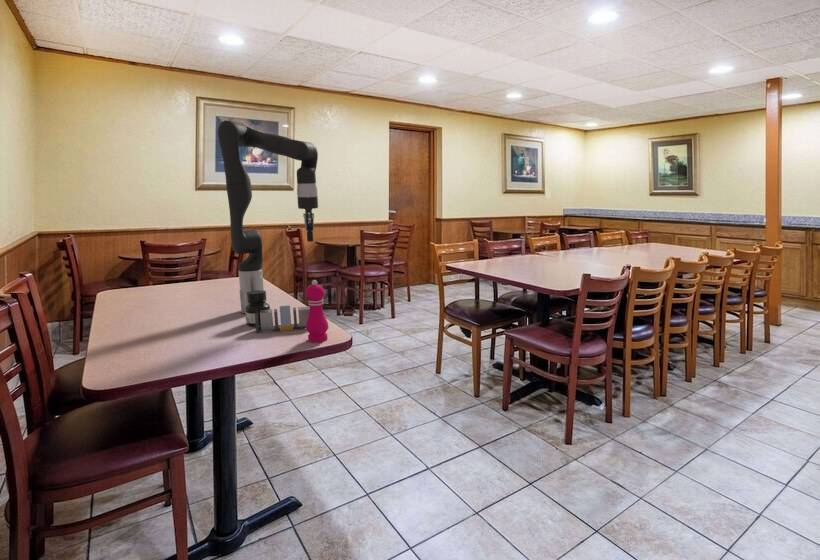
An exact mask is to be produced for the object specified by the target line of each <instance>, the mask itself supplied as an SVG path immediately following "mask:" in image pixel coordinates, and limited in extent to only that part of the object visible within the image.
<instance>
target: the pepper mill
mask: <svg viewBox="0 0 820 560" xmlns="http://www.w3.org/2000/svg"><path fill="white" fill-rule="evenodd" d="M325 293H326V292H325V289H324V287H323V286H322V285H320V284H318V281H317V280H316V279H313V280H312V281H311V284H310V285H309V286H307V288H306V289H305V297H306V298H307V299H308V300H307V305H308V306H309V308H310V313H309V317H308V320H307V323H306V329H305V330H306V332H308V335H307V339H308V342H309V341H310V343H314V342H318V343H323V341H324V342H326V341H327V340H328V333H327V331H328V330H329V323H328V320H327V317H326V316H325V314H324V310H323V305H324V299H323V298H324V296H325Z"/></svg>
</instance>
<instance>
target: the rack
mask: <svg viewBox="0 0 820 560" xmlns="http://www.w3.org/2000/svg"><path fill="white" fill-rule="evenodd" d="M292 311H293V314H292V315H293V323H291V325H290V326H281V324H279V316H278V315H279V313H278V308H274V309H272V308H270V310H260V321H261V326H260V325H259V313H258V311H255V324H256V326H255V334H261V333H262V334H263V333H273V332H285V331H293V330H294V329H297V330H306V329H305V328H306V323H307V320H308V317H309V313H310V307H309V305H308V306H298V307H292ZM297 312H298V320H297ZM273 314H274V315H273ZM294 331H295V330H294Z"/></svg>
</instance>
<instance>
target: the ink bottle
mask: <svg viewBox="0 0 820 560" xmlns="http://www.w3.org/2000/svg"><path fill="white" fill-rule="evenodd" d="M247 301H248V303H249V304H248V305H247V306H246V307H245V313H244V314H245V323H246V325H247V326H251V327H256V324H255V311H258V313H259V325H260V327H261V321H260V310H270V309H271V305H270V304H269V303H268V302H267V291H266V290H255V291H249V292H247Z"/></svg>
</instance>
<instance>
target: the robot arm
mask: <svg viewBox="0 0 820 560" xmlns="http://www.w3.org/2000/svg"><path fill="white" fill-rule="evenodd" d="M217 137H218V143H219V147H220V151H221V155H222V156H221V157H222V162H223V168H224V175H225V186H226V194H227V200H228V209H229V216H230V217H229V219H230V220H229V222H230V224H229V225H230V243H231V247H232V250H233V252H234V253H235V254H236V255H244V254H248V255H247V257H246V258H245V259H244V260H242V261H240V262H239V263H238V265H237V269H238V281H239V299H240V300H239V301H240V307H241V309H240V311H241V314H246V313H245V307H246V306H247V305H248V304H249V303H248V301H247V292H249V291H255V290H264V275H263V261H264V259H263V258H264V257H263V239H262V236H261V233H260V231H259V230H256V229H247V230H246V229H245V230H244V228H243V227H244V225H243V224H244V217H245V215H246V212H247V210H248V208H249V206H250V203H251V201H252V197H253V192H252V190H253V189H252V183H251V178H250V176H249V173H248V172H247V169H246V168H245V166H244V164H243V162H242V160H241V156H240V151H239V147H245V148H246V147H248V148H249V147H250V148H258V149H261V150H263V151H266V152H268V153H272V154H275V155H279V156H283V157H287V158H290V159H292V160H296V161H300V162H301V163H300V168H297V170H296V184H297V185H296V195H297V208H298V209H299V210H300V209H301V210H304V213H303V214H302V216H303V222H304V226H305V231H306V240H307V242H309V243H310V242H311V243H313V241H314V226H315V221H314V220H315V213H313V209H318V208H319V199H318V197H319V196H318V188H317V178H316V177H317V176H316V170H317V165H318V160H319V156H318V155H319V154H318V153H319V152H318V149H317V146H316V145H315V144H314V143H312V142H309V141H303V140H299V139H298V140H297V139H292V138H290V137H287V136H282V135H280V134H275V133H269V132H268V133H267V132H262V131H259V130H256V129H253V128H251V127H249V126H248V125H245V124H243V123H241V122H237V121H233V120H223V121H221V123H219V126H218V128H217ZM264 291H265V290H264Z"/></svg>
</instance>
